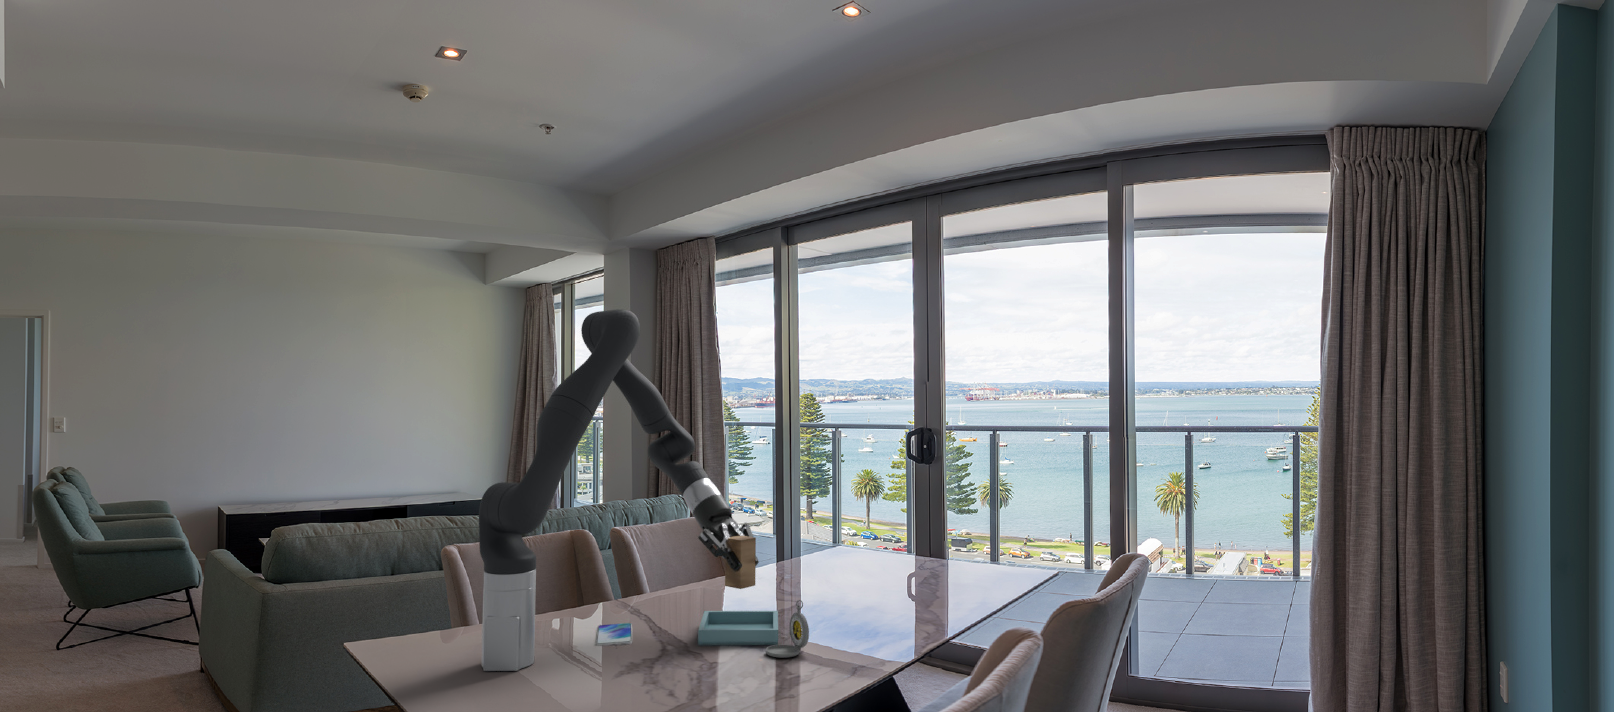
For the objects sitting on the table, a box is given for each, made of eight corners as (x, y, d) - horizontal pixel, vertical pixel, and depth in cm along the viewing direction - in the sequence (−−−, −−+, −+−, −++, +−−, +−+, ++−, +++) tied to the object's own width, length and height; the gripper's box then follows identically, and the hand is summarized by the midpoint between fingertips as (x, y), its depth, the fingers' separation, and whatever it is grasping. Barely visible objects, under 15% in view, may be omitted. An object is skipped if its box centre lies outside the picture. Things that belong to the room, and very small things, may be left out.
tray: (778, 644, 176) (778, 629, 176) (698, 645, 175) (698, 630, 175) (777, 624, 192) (777, 610, 192) (704, 624, 191) (704, 610, 191)
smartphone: (595, 644, 175) (597, 624, 189) (595, 648, 175) (597, 628, 189) (632, 641, 176) (632, 622, 191) (632, 645, 176) (632, 626, 191)
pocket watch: (759, 656, 168) (759, 603, 169) (780, 645, 176) (781, 595, 176) (796, 662, 164) (797, 608, 165) (817, 651, 172) (817, 599, 172)
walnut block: (725, 585, 184) (725, 537, 184) (739, 582, 187) (740, 535, 188) (740, 589, 181) (741, 540, 181) (755, 585, 184) (755, 537, 185)
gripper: (691, 495, 184) (732, 561, 176) (738, 490, 195) (779, 551, 187) (674, 518, 187) (713, 584, 179) (721, 512, 198) (760, 573, 190)
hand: (747, 566), depth 183 cm, fingers closed on walnut block, 4 cm apart
